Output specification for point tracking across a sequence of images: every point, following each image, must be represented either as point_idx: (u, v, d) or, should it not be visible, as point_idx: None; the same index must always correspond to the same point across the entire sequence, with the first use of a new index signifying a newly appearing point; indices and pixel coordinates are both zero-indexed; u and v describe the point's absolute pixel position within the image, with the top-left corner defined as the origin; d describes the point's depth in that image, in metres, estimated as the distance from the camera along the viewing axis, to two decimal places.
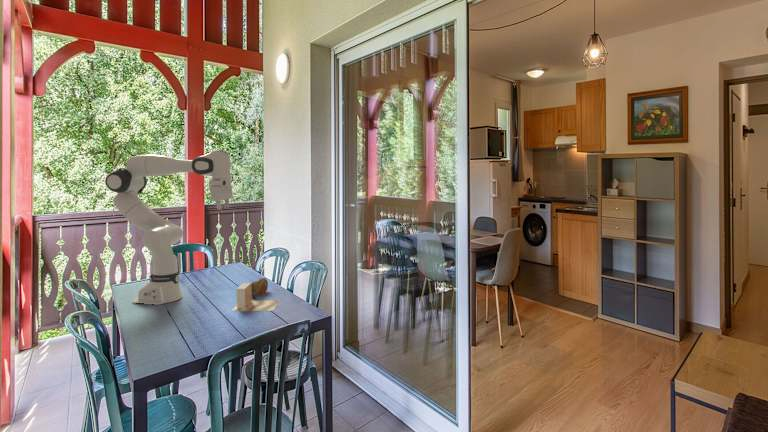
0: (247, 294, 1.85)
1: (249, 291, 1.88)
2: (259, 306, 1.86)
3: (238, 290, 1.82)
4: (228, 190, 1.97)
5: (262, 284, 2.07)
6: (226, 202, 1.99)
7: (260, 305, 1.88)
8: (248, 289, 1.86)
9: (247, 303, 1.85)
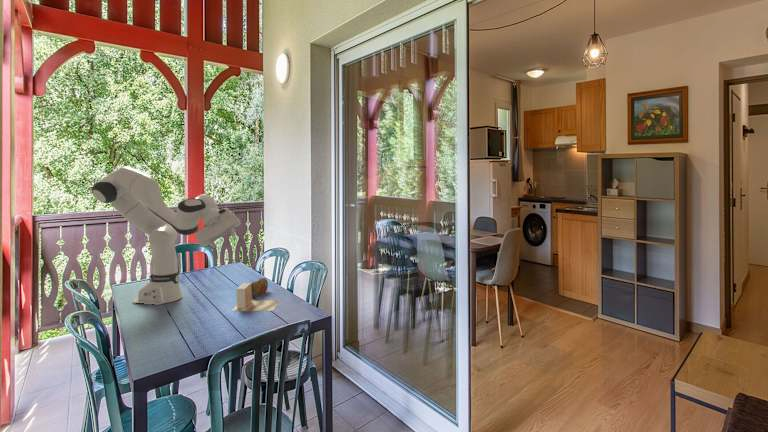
0: (247, 294, 1.85)
1: (249, 291, 1.88)
2: (259, 306, 1.86)
3: (238, 290, 1.82)
4: None
5: (262, 284, 2.07)
6: None
7: (260, 305, 1.88)
8: (248, 289, 1.86)
9: (247, 303, 1.85)
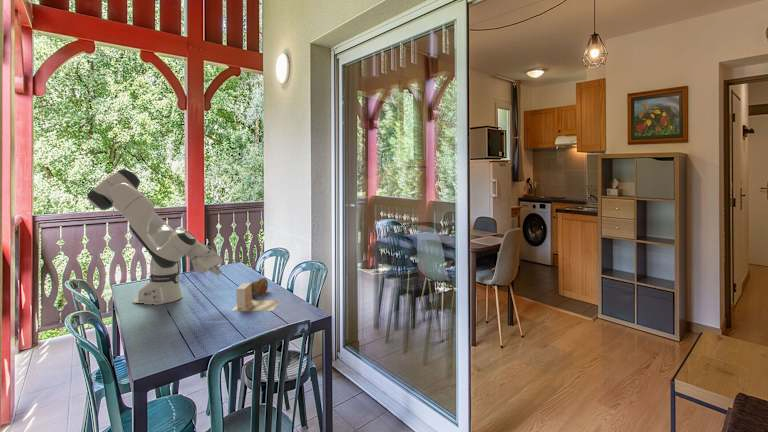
0: (247, 294, 1.85)
1: (249, 291, 1.88)
2: (259, 306, 1.86)
3: (238, 290, 1.82)
4: None
5: (262, 284, 2.07)
6: None
7: (260, 305, 1.88)
8: (248, 289, 1.86)
9: (247, 303, 1.85)
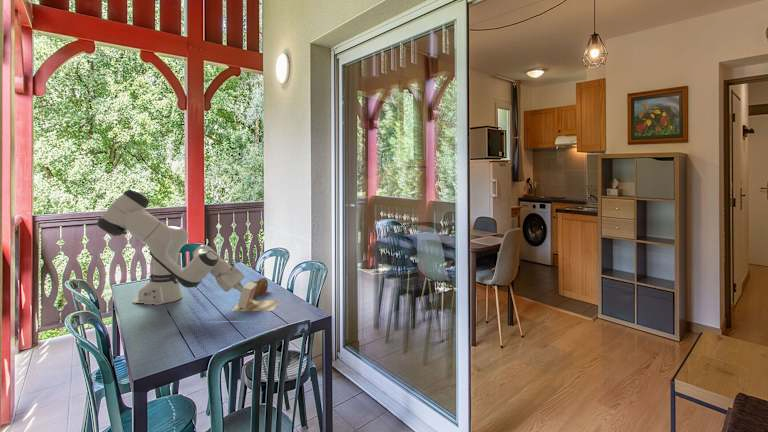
0: (251, 295, 1.85)
1: (253, 292, 1.88)
2: (259, 306, 1.86)
3: (244, 289, 1.82)
4: None
5: (262, 284, 2.07)
6: None
7: (260, 305, 1.88)
8: (253, 290, 1.87)
9: (248, 303, 1.85)
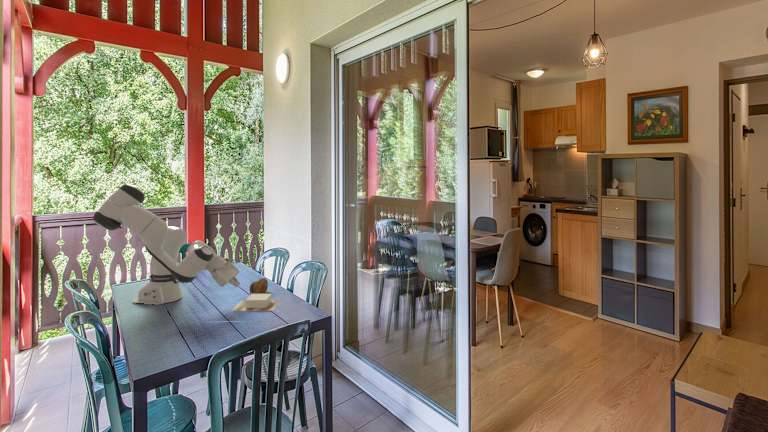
0: None
1: None
2: None
3: (264, 302, 1.83)
4: None
5: (262, 284, 2.07)
6: None
7: None
8: None
9: None
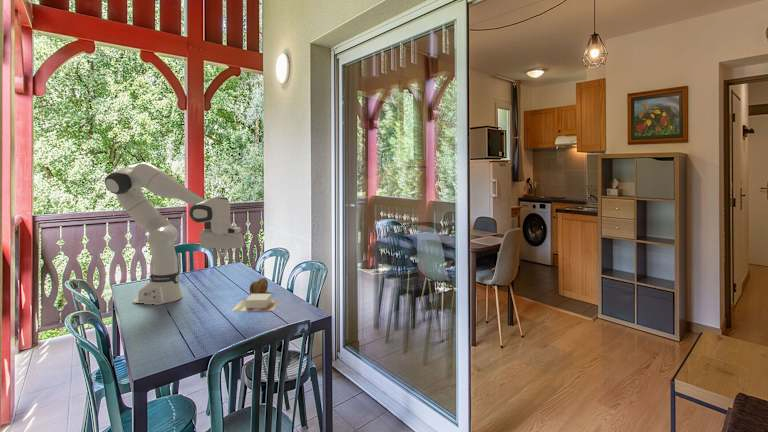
0: None
1: None
2: None
3: (264, 302, 1.83)
4: None
5: (262, 284, 2.07)
6: (219, 251, 1.84)
7: None
8: None
9: None
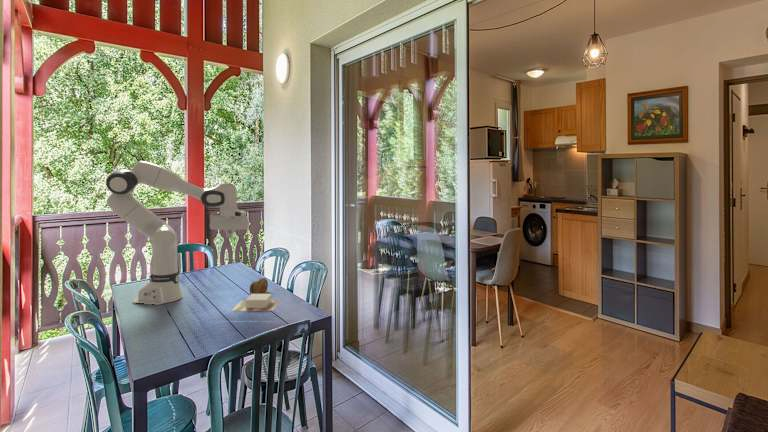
0: None
1: None
2: None
3: (264, 302, 1.83)
4: None
5: (262, 284, 2.07)
6: (227, 232, 2.05)
7: None
8: None
9: None
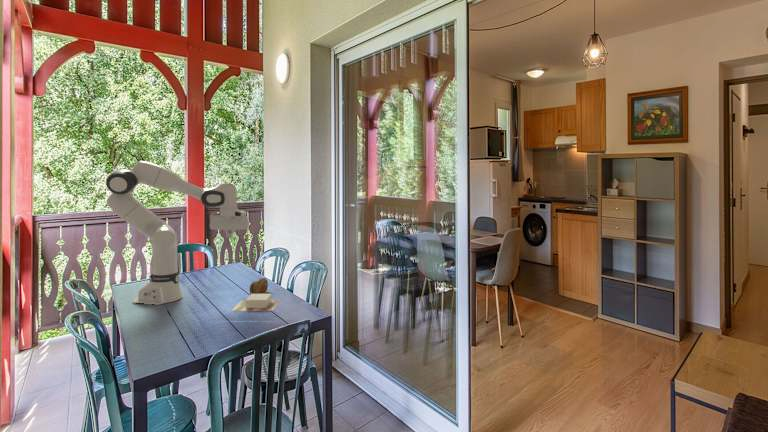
0: None
1: None
2: None
3: (264, 302, 1.83)
4: None
5: (262, 284, 2.07)
6: (227, 232, 2.05)
7: None
8: None
9: None
